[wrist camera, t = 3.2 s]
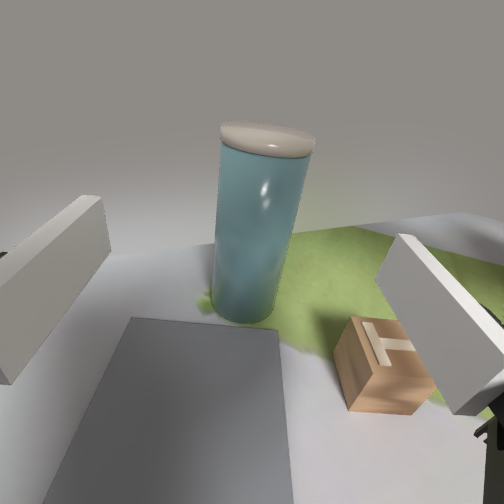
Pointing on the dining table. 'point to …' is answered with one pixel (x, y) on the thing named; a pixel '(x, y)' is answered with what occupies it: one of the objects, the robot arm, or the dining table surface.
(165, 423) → the mat
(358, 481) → the dining table surface
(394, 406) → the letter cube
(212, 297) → the jar
